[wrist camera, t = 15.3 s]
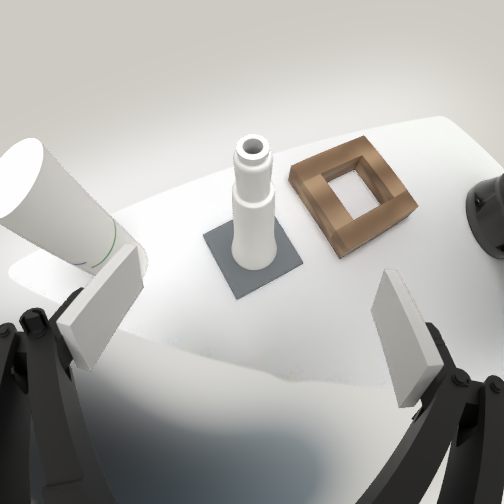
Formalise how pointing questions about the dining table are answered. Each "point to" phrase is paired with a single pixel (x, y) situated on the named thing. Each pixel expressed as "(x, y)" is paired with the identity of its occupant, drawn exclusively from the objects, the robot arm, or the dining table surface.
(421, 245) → the dining table surface
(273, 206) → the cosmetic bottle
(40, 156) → the cylindrical container
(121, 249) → the robot arm
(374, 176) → the collar
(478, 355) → the dining table surface
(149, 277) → the dining table surface
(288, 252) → the mat
